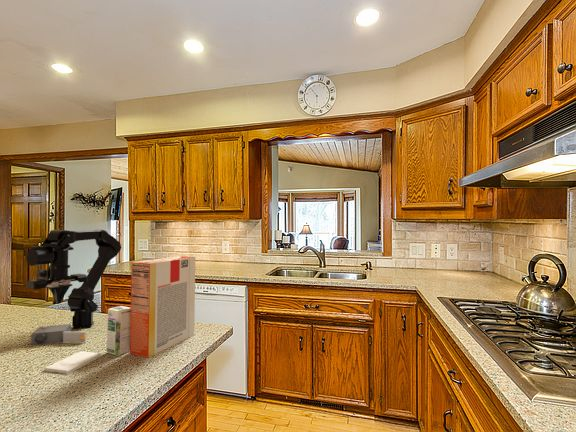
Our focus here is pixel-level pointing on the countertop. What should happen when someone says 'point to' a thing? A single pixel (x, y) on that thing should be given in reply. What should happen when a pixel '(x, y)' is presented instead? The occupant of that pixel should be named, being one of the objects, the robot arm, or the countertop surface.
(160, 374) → the countertop surface
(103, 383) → the countertop surface
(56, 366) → the external hard drive
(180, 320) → the cereal box
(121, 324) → the syrup box
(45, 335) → the camera block
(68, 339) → the side door
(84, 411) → the countertop surface
